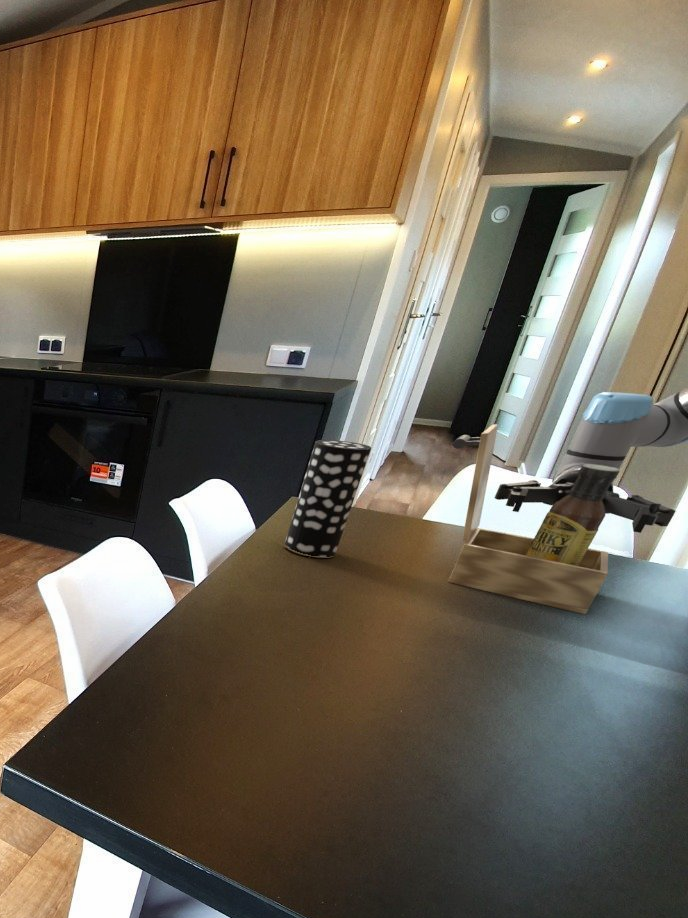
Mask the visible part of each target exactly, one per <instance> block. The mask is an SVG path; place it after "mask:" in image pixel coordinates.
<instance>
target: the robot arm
mask: <svg viewBox="0 0 688 918" xmlns="http://www.w3.org/2000/svg"><path fill="white" fill-rule="evenodd" d="M686 443H688V387H685V388H684V389H682V390H680V391H678V392H676V393H674V394H672V395H670V396H668V397H665V398H664V399H661V400H660V401H657V402H656V403H654V398H653V397H652V395H648V394H644V393H643V394H642V393H633V392H616V391H615V392H614V391H612V392H611V391H603V392H600V393H597V394H595V395H594V396H593V397H592V399H591V400H590V402H589V404H588V406H587V408H586V409H585V411H584V412H583V413H582V416H581V419H580V422H579V424H578V426H577V427H576V430H575V433H574V435H573V437H572V439H571V441H570V443H569V446H568V448H567V450H566V452H565V454H564V456H563V458H562V460H561V462H560V464H559V467H558V468H557V470H556V471H555V473H554V475H553V477H552V478H551V479H552V480H551V482H552V483H551V484H550V485H549V486H541V485H542V483H541V482H539V481H538V480H535V479H532V480H528V481H522V482H521V481H520V482H511V483H500V484H499V486H498V488H497V491H496V493H495V495H494V499H495V500H497V501H500V500H507V501H506V503H505V506H506V507H511V508H512V512H515V513H519V512H520V510H521V507H522V505H523V504H526V503H527V504H528V503H531V504H534V503H535V504H536V503H537V504H538V503H539V504H541V503H542V504H543V505H548V506H553V505H554V504H555V503H556V502H558V501H559V500H561V499H562V498H564V497H566V496H567V495H569V493H570V490H571V489H572V487H573V485H574V483H575V481H576V480H577V477H578V473H579V470H580V469H581V467H582V466H583V465H585V464H593V465H602V466H608V467H613V468H617V469H619V470H620V468H621V467H622V464H623V463H624V461H625V459H626V457H627V455H628V453H629V452H630V449H631V448H638V447H640V448H643V447H654V448H655V447H657V448H665V447H666V448H667V447H673V446H675V445H681V444H686ZM602 501H603V504H604V506H605V512H606V513H605V515H606V514H607V515H608V514H609V515H610V514H611V515H614V516H616V517H617V516H618V517H621V518H624V519H627V520H630V521H632V522H631V525H632V531H633V533H639V534H640V533H642V531H643V530H644V528H645V526H651V527H652V526H654V525H656V526H658V527H668V525H669V524H670V522H671V521H672V519H673V517H674V515H675V514H676V512H677V510H675V509H673V508H670V507H666V506H664V505H662V503H656V502H654V501H651V500H648V499H646V498H644V497H642V496H640V495H638V494H632V495H628V496H627V498H622V497H621V496H620V494H619V493H617V492H614V480H613V481H612V483H611V484H610V486H609V488H608V490H607V492H606V495H605V497H604V498H603V500H602Z"/></svg>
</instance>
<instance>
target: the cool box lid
mask: <svg viewBox="0 0 688 918" xmlns="http://www.w3.org/2000/svg"><path fill="white" fill-rule="evenodd" d="M498 428H499V424H497V423H496V424H494V423H493V424H491V425H490V426H489V427H487V428H486V429H485V430H484V431H483V432H481V433H480V436H475V437H471V436H470V435H468V434H463V435H460V436H459V437H457V438H456V439H455V440H454V441H453V442H452V447H453V448H454V449H458V450H459V449H463V448H464V447H467V446H468V447H471V446H472V447H475V446H476V447H478V450H477V456H476V460H475V467H474V472H473V478H472V483H471V484H472V485H471V490H470V494H469V500H468V505H467V510H466V517H465V522H464V527H463V528H464V529H463V534H462V538H461V541H462V542H463V543H464V542H468V541H469V540H470V538H471V537H472V535H473V534H474V532H475V531H476V529H477V528H479V526H480V523H481V519H482V513H483V508H484V503H485V498H486V492H487V486H488V481H489V476H490V470H491V464H492V461H493V460H492V459H493V455H494V449H495V442H496V437H497V433H498Z"/></svg>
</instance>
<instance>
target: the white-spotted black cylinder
mask: <svg viewBox="0 0 688 918" xmlns="http://www.w3.org/2000/svg"><path fill="white" fill-rule="evenodd" d="M371 450H372V447H371V445H368V444H363V443H358V442H353V441H345V440H333V439H332V440H331V439H320V440H316V441H315V442H314V445H313V450H312V452H311V455H310V458H309V462H308V466H307V469H306V472H305V475H304V477H303V482H302V484H301V485H302V486H301V489H300V492H299V494H298V498H297V501H296V505H295V508H294V511H293V514H292V518H291V522H290V525H289V528H288V531H287V535H286V538H285V541H284V544H285V545H286V546H287V547H288V548H290V549H292V550H295V551H297V552H300V553H303V554H308V555H311V556H320V557H330V556H334V555H335V556H336V554H337V550H338V547H339V544H340V541H341V538H342V536H343V532H344V530H345V527H346V524H347V521H348V519H349V515H350V512H351V511H352V510H351V509H352V507H353V504H354V500H355V498H356V494H357V491H358V489H359V487H360V483H361V480H362V477H363V474H364V472H365V469H366V465H367V462H368V460H369V456H370V454H371ZM335 556H334V557H335Z"/></svg>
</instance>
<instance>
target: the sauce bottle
mask: <svg viewBox="0 0 688 918" xmlns="http://www.w3.org/2000/svg"><path fill="white" fill-rule="evenodd" d="M619 473H620V468H619V469H617V468H613V467H608V466H602V465H593V464H585V465H583V466H582V467H581V469H580V470H579V473H578V477H577V480H576V481H575V483H574V485H573V487H572V489H571V490H570V493H569V495H567V496H566V497H564V498H562V499H561V500H559V501H558V502H556V503H555V504H554V505H551V508H550V509H549V511H548V512H547V513H546V515H545V517H544V518H543V519H542V523H541V524H540V527H539V529H538V530H537V532H536V534H535V536H534V540H533V542H532V543H531V545H530V547H529V549H528V551H527V553H526V555H525V556H530V557H535V558H540V559H545V560H550V561H555V562H560V563H565V564H570V565H575V566H578V565H579V564H580V562H581V560H582V558H583V556H584V555H585V553H586V551H587V549H589V547H591V544H592V542H593V541H594V539H595V537H596V535H597V533H598V532H599V528H600V526H601V525H602V522H603V521H604V519H605V517H606V514H605V513H606V512H605V506H604V504H603V501H602V500H603V498H604V497H605V495H606V492H607V490H608V488H609V486H610V484H611V483H612V481H613V482H614V480H615V479H617V477H618V475H619Z"/></svg>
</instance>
